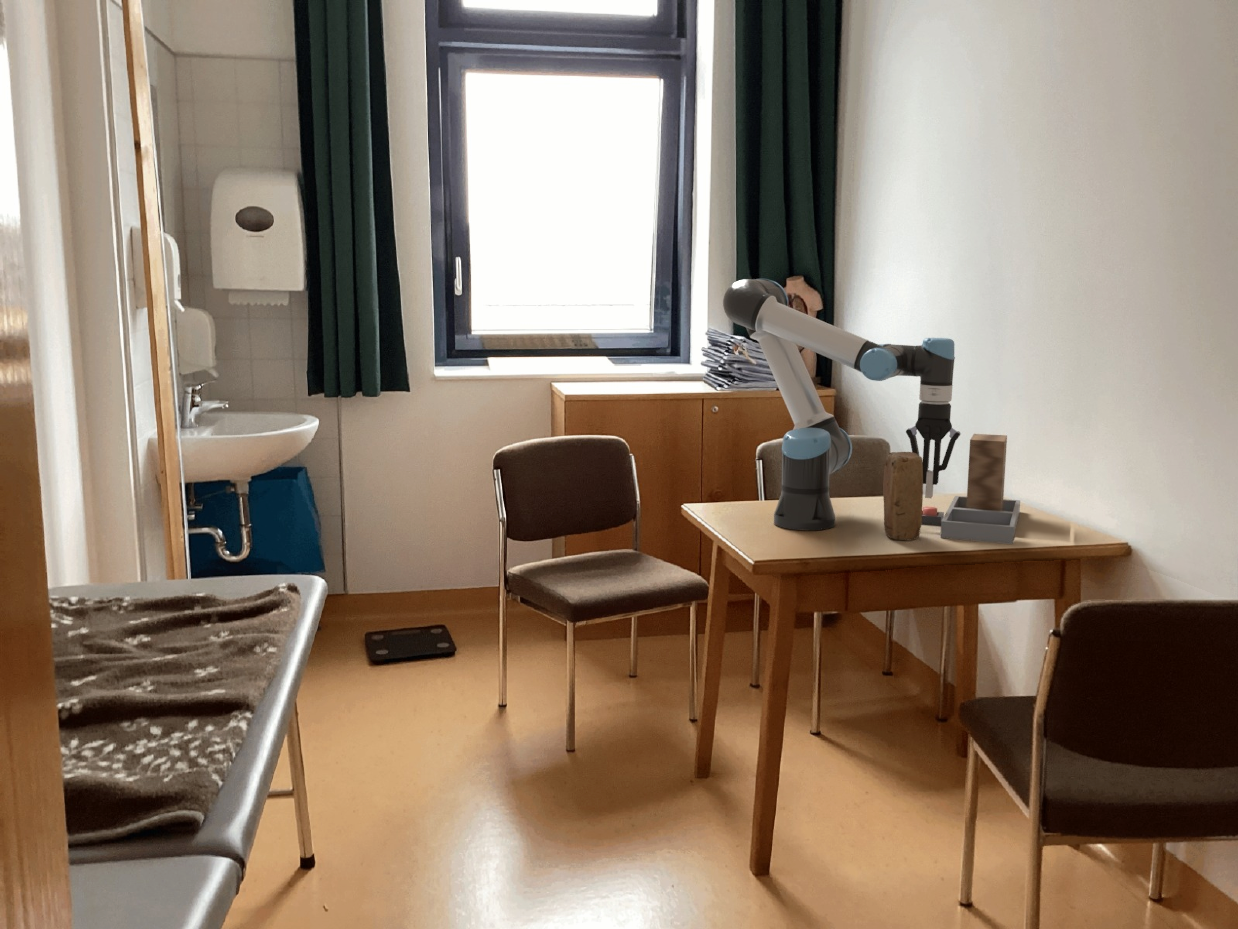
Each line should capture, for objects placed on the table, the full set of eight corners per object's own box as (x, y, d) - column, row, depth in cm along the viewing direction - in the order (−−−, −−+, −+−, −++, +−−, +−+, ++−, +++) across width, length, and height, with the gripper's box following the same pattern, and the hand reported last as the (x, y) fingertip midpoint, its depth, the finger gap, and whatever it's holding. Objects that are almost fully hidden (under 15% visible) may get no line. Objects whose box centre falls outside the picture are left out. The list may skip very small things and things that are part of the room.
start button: (921, 522, 258) (922, 509, 258) (923, 520, 261) (923, 506, 261) (935, 524, 257) (936, 510, 256) (937, 521, 260) (938, 507, 259)
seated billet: (965, 518, 262) (970, 439, 258) (969, 510, 272) (973, 433, 268) (999, 521, 259) (1004, 441, 255) (1002, 512, 269) (1007, 435, 265)
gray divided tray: (940, 537, 247) (941, 521, 246) (954, 510, 276) (955, 495, 275) (1012, 544, 241) (1013, 527, 240) (1019, 515, 270) (1020, 500, 269)
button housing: (915, 527, 258) (915, 515, 257) (918, 521, 263) (919, 510, 263) (940, 529, 255) (941, 517, 255) (943, 523, 261) (943, 512, 260)
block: (922, 541, 243) (926, 456, 240) (890, 542, 243) (894, 457, 240) (909, 530, 254) (912, 449, 251) (878, 531, 254) (881, 449, 250)
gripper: (905, 402, 253) (899, 497, 257) (961, 405, 248) (954, 502, 252) (909, 398, 260) (904, 491, 264) (964, 401, 255) (957, 496, 259)
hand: (928, 497), depth 258 cm, fingers closed
